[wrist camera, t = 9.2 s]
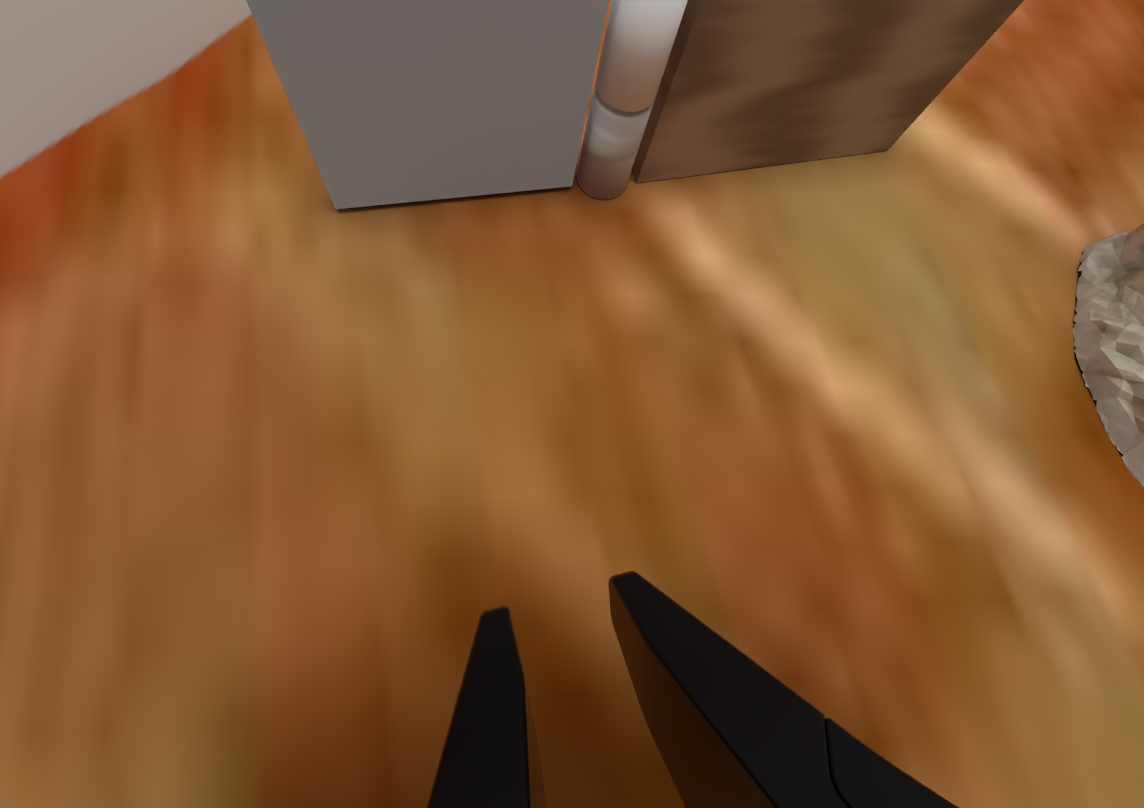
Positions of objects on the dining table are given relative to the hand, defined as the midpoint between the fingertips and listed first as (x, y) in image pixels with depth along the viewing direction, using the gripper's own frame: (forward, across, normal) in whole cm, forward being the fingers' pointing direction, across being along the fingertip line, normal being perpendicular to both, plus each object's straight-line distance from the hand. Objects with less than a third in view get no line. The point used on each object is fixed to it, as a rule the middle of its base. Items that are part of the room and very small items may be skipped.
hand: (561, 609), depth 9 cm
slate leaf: (+21, -2, -4) cm, 21 cm away
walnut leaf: (+21, -15, -4) cm, 26 cm away
